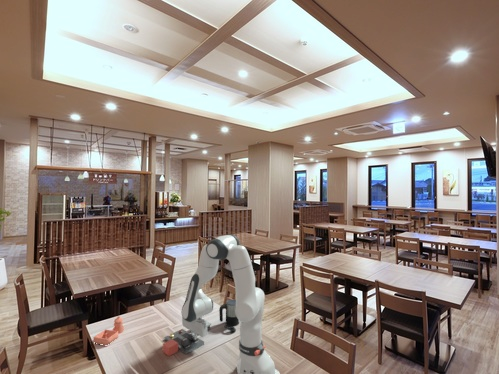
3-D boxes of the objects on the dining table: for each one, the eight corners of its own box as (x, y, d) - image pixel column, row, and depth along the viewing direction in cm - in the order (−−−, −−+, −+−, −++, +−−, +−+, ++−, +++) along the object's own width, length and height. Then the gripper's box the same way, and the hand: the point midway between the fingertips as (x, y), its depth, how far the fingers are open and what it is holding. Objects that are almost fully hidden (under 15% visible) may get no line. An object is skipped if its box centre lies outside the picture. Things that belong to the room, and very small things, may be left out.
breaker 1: (188, 344, 149) (188, 339, 149) (184, 346, 147) (184, 341, 147) (185, 342, 151) (185, 337, 151) (181, 344, 149) (181, 339, 149)
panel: (204, 344, 152) (204, 340, 153) (185, 354, 143) (185, 350, 143) (182, 331, 167) (182, 327, 167) (164, 339, 157) (164, 336, 157)
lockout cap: (178, 351, 146) (178, 343, 146) (168, 356, 141) (168, 347, 141) (172, 347, 150) (172, 339, 150) (162, 351, 145) (162, 343, 145)
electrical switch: (200, 329, 162) (192, 321, 168) (199, 336, 162) (191, 328, 169) (212, 323, 169) (203, 316, 175) (210, 331, 169) (202, 323, 176)
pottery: (106, 346, 150) (107, 329, 150) (93, 344, 152) (93, 327, 152) (128, 330, 167) (128, 315, 167) (115, 328, 169) (116, 313, 170)
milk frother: (235, 318, 184) (235, 298, 184) (246, 328, 170) (247, 306, 171) (217, 324, 176) (217, 302, 176) (227, 335, 163) (228, 311, 163)
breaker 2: (194, 338, 156) (194, 332, 156) (190, 340, 154) (190, 335, 154) (191, 336, 158) (191, 331, 158) (187, 338, 156) (187, 333, 156)
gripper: (210, 318, 150) (209, 342, 149) (188, 308, 163) (188, 330, 163) (201, 323, 145) (201, 347, 145) (180, 311, 158) (180, 334, 158)
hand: (194, 338), depth 154 cm, fingers closed
